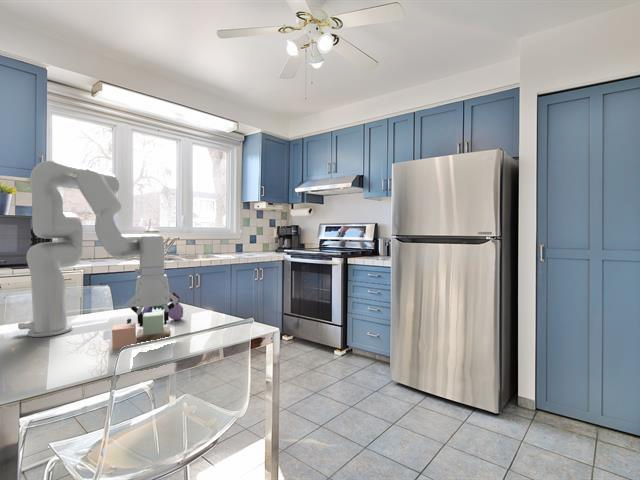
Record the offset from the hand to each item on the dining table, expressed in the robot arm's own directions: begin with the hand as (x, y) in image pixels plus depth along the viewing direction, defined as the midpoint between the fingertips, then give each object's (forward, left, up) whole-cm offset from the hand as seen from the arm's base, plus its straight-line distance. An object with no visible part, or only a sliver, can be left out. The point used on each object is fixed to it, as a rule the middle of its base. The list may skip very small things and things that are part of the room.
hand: (153, 323), depth 123 cm
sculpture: (-8, +14, -5) cm, 17 cm away
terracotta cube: (-8, -6, -4) cm, 11 cm away
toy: (+2, +21, -4) cm, 22 cm away
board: (0, 0, -4) cm, 4 cm away
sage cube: (0, 0, -3) cm, 3 cm away
